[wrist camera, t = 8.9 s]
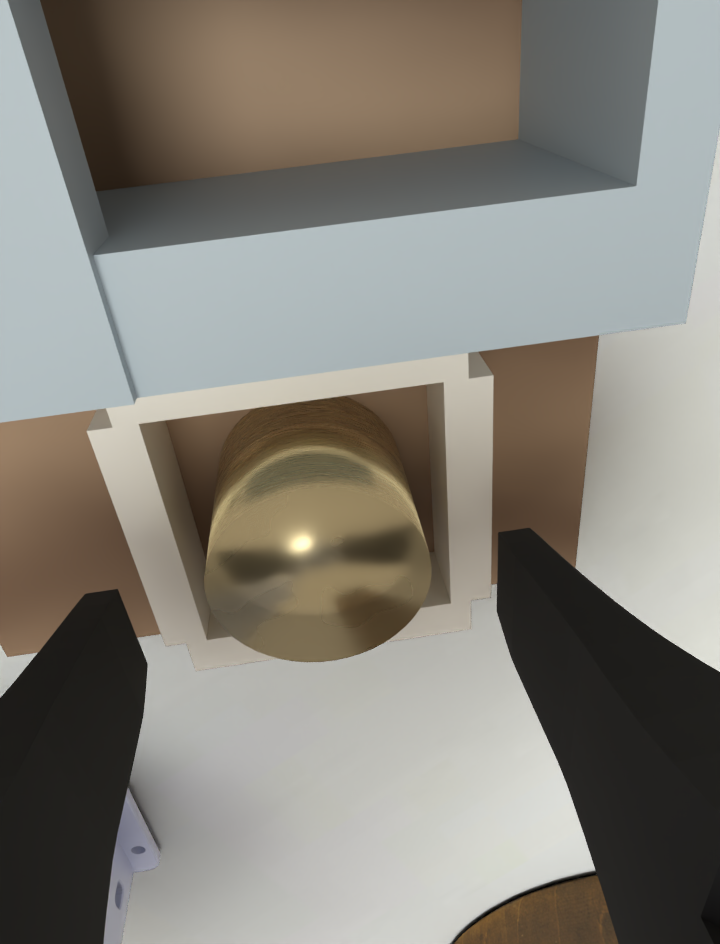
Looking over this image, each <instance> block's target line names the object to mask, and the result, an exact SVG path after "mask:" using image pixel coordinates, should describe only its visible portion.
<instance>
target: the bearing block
mask: <svg viewBox="0 0 720 944" xmlns="http://www.w3.org/2000/svg"><path fill="white" fill-rule="evenodd" d="M719 130H720V0H522V25H521V61H520V97H519V133H518V139H517V140H509V141H501V142H493V143H484V144H476V145H468V146H460V147H452V148H444V149H436V150H428V151H420V152H412V153H404V154H396V155H388V156H379V157H371V158H363V159H355V160H347V161H339V162H331V163H323V164H315V165H307V166H299V167H291V168H283V169H274V170H266V171H258V172H250V173H242V174H234V175H226V176H218V177H210V178H202V179H194V180H186V181H178V182H169V183H161V184H153V185H145V186H137V187H129V188H121V189H113V190H105V191H97V192H96V190H95V187H94V183H93V180H92V177H91V173H90V170H89V166H88V163H87V160H86V156H85V153H84V149H83V146H82V142H81V139H80V136H79V132H78V129H77V125H76V122H75V119H74V115H73V112H72V108H71V105H70V102H69V98H68V95H67V91H66V88H65V84H64V81H63V78H62V74H61V71H60V67H59V64H58V61H57V57H56V54H55V50H54V47H53V43H52V40H51V37H50V33H49V30H48V26H47V23H46V20H45V16H44V13H43V9H42V6H41V2H40V0H0V423H2V422H9V421H16V420H24V419H31V418H38V417H46V416H53V415H60V414H68V413H75V412H82V411H90V410H97V409H104V408H112V407H119V406H126V405H134V404H135V402H136V399H137V398H141V397H148V396H155V395H163V394H170V393H178V392H185V391H192V390H200V389H207V388H214V387H222V386H229V385H236V384H244V383H251V382H258V381H266V380H273V379H281V378H288V377H295V376H303V375H310V374H317V373H325V372H332V371H339V370H347V369H354V368H361V367H369V366H376V365H384V364H391V363H398V362H406V361H413V360H420V359H428V358H435V357H442V356H450V355H457V354H464V353H472V352H479V351H486V350H494V349H501V348H509V347H516V346H523V345H531V344H538V343H545V342H553V341H560V340H567V339H575V338H582V337H589V336H597V335H604V334H612V333H619V332H626V331H634V330H641V329H648V328H656V327H663V326H670V325H678V324H685V323H686V319H687V313H688V308H689V302H690V296H691V290H692V285H693V279H694V273H695V267H696V262H697V256H698V250H699V244H700V239H701V233H702V227H703V221H704V216H705V210H706V204H707V199H708V193H709V187H710V181H711V176H712V170H713V164H714V158H715V153H716V147H717V141H718V135H719Z"/></svg>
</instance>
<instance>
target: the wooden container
mask: <svg viewBox="0 0 720 944" xmlns="http://www.w3.org/2000/svg"><path fill="white" fill-rule="evenodd" d="M454 944H618V940H617V937H616V934H615V931H614V927H613V924H612V921H611V917H610V914H609V911H608V908H607V904H606V901H605V898H604V894H603V891H602V888H601V885H600V882H599V879H598V876H597V875H592V876H587V877H582V878H577V879H574V880H569V881H565V882H561V883H558V884H555V885H552V886H549V887H546V888H543V889H540V890H537V891H534V892H531V893H529V894H526V895H524V896H522V897H519V898H517V899H515V900H513V901H511V902H509V903H507V904H505V905H503V906H501V907H499V908H497V909H496V910H494V911H492V912H491V913H489V914H488V915H486V916H485V917H483V918H482V919H480V920H479V921H478V922H476V923H475V924H474V925H473V926H471V927H470V928H469V929H468V930H467V931H465V932H464V933H463V934H462V935H461V936H460V937H459V938H458V939H457V941H456V942H455V943H454Z"/></svg>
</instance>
